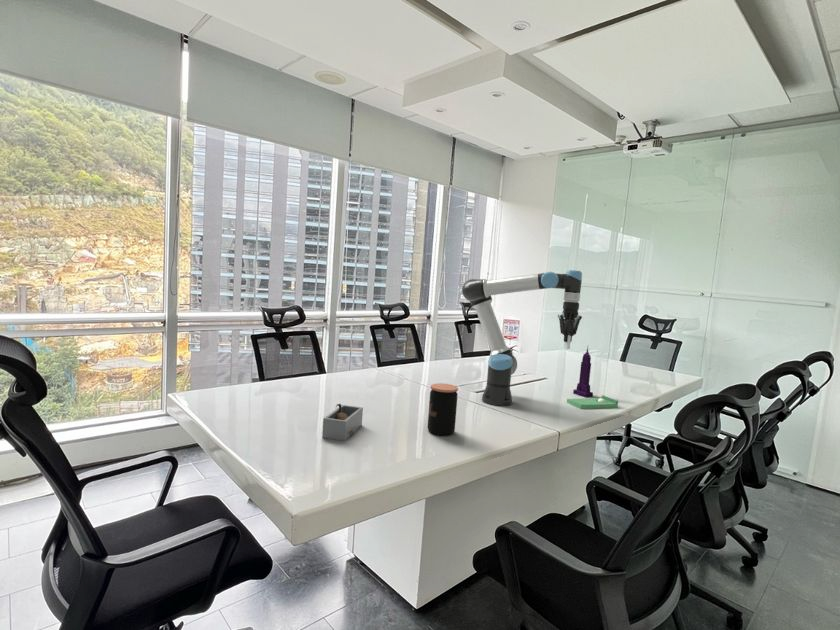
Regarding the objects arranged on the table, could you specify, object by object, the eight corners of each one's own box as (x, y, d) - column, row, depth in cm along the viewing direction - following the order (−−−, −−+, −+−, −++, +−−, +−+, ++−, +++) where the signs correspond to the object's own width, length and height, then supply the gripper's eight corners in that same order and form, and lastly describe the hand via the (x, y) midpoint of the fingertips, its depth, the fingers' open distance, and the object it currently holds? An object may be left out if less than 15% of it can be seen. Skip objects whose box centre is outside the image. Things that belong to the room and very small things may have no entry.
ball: (600, 407, 234) (597, 403, 233) (598, 403, 238) (595, 399, 237) (606, 404, 233) (603, 399, 232) (604, 400, 236) (601, 395, 235)
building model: (572, 393, 257) (578, 341, 254) (580, 392, 260) (585, 341, 257) (585, 397, 249) (590, 344, 247) (592, 396, 252) (598, 343, 250)
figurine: (329, 423, 174) (330, 401, 173) (340, 422, 176) (341, 400, 175) (341, 435, 162) (343, 411, 161) (353, 434, 164) (354, 410, 163)
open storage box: (322, 437, 160) (323, 418, 160) (341, 422, 178) (342, 404, 178) (344, 440, 158) (346, 421, 158) (361, 424, 177) (362, 407, 176)
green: (580, 408, 224) (581, 401, 224) (566, 402, 235) (567, 396, 235) (617, 407, 232) (618, 401, 232) (602, 401, 242) (603, 395, 242)
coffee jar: (427, 426, 181) (430, 382, 179) (453, 428, 180) (457, 384, 179) (427, 435, 170) (430, 388, 169) (455, 437, 170) (458, 391, 168)
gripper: (565, 301, 218) (560, 349, 220) (587, 302, 222) (582, 349, 224) (555, 300, 225) (551, 346, 227) (577, 301, 229) (572, 347, 231)
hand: (566, 348), depth 226 cm, fingers closed
